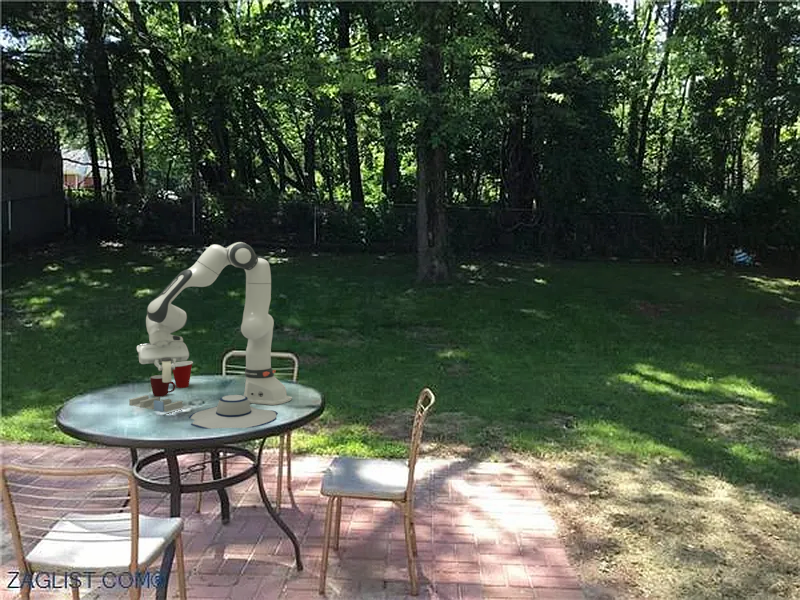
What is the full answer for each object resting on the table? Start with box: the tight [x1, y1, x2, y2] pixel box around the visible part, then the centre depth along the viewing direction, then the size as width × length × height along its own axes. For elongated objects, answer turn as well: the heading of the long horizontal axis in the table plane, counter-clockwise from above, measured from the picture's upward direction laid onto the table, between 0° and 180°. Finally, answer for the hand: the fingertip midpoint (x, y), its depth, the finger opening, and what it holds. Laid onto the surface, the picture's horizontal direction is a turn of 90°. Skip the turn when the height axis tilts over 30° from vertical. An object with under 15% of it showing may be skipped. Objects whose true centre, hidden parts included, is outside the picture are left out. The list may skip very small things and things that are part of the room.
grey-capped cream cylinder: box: [161, 357, 172, 383], centre depth 291 cm, size 4×4×10 cm
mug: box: [150, 374, 176, 398], centre depth 316 cm, size 11×8×10 cm
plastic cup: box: [171, 360, 194, 389], centre depth 339 cm, size 11×11×12 cm
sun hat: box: [188, 394, 278, 430], centre depth 284 cm, size 36×36×9 cm
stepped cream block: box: [128, 394, 184, 415], centre depth 296 cm, size 22×10×6 cm, turn 61°
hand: (167, 369), depth 291 cm, fingers closed on grey-capped cream cylinder, 4 cm apart
